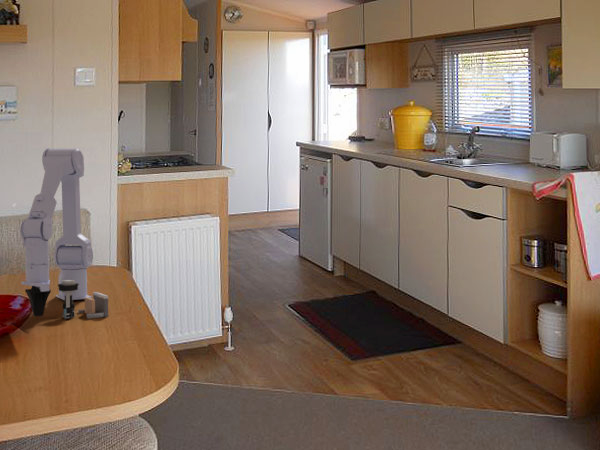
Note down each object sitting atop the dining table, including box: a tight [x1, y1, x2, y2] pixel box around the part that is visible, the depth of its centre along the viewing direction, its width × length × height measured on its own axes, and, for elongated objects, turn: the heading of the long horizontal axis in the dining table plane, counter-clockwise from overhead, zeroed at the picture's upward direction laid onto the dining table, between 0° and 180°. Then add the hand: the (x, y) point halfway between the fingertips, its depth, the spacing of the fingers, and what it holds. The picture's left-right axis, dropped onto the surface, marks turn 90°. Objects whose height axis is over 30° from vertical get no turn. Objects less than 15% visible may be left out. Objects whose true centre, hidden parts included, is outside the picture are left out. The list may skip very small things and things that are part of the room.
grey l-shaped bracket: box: [77, 291, 109, 320], centre depth 194 cm, size 9×6×6 cm, turn 35°
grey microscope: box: [57, 280, 79, 320], centre depth 190 cm, size 7×5×10 cm
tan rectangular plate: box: [84, 297, 96, 315], centre depth 193 cm, size 6×1×4 cm, turn 35°
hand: (38, 315), depth 186 cm, fingers closed
